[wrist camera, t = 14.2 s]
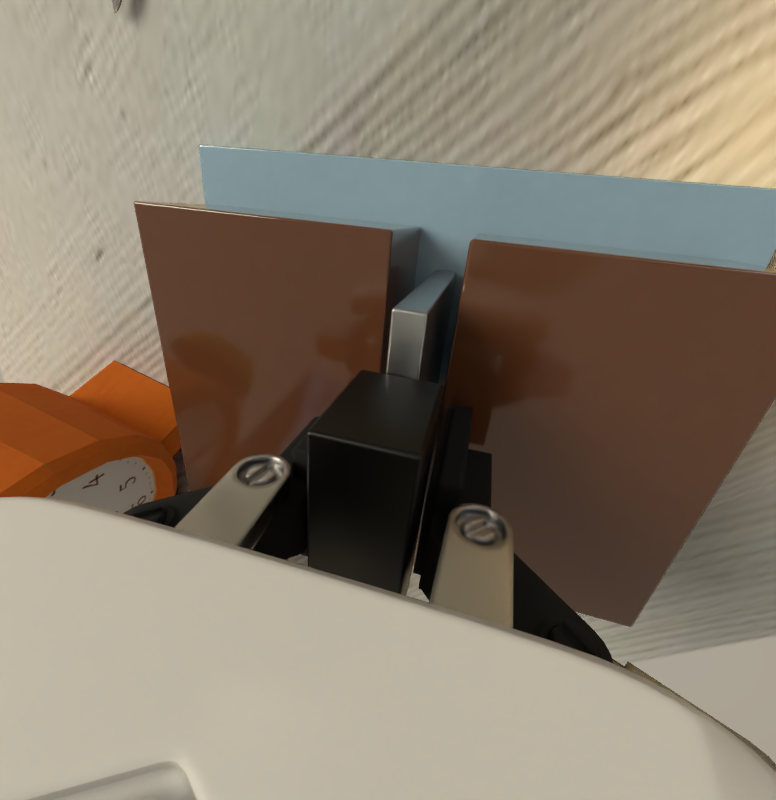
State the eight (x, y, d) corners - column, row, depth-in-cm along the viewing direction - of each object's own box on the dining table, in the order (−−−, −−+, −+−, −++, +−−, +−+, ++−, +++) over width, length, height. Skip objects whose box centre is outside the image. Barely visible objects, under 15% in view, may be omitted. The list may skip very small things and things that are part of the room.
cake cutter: (472, 274, 14) (438, 368, 5) (436, 469, 18) (383, 706, 9) (419, 267, 14) (302, 344, 6) (396, 460, 18) (307, 679, 10)
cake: (795, 192, 11) (988, 175, 7) (605, 562, 18) (640, 669, 14) (206, 146, 15) (86, 115, 10) (241, 471, 22) (179, 533, 18)
